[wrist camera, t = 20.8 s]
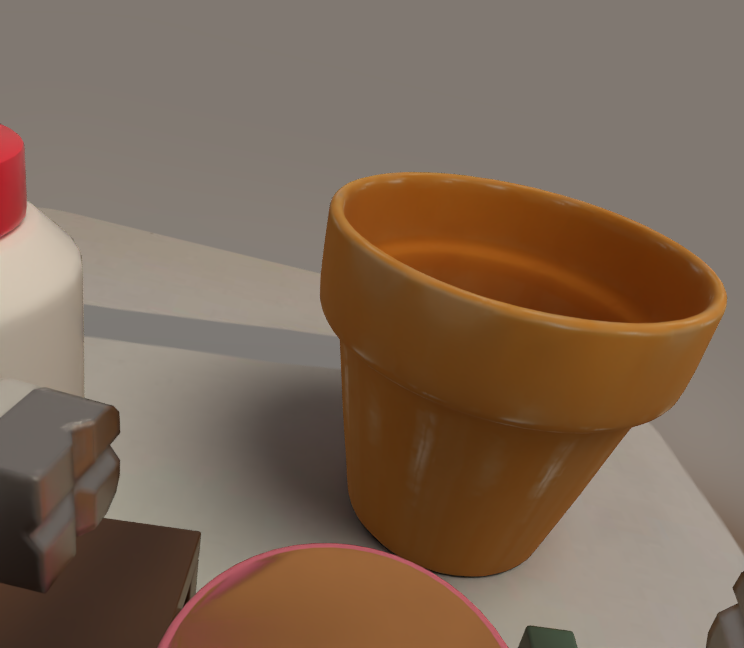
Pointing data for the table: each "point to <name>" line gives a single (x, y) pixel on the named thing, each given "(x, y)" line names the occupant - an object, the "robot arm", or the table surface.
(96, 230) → the table surface
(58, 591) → the cabinet
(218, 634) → the pink-rimmed cylinder
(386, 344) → the flower pot
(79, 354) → the pill bottle
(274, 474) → the table surface
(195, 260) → the table surface
